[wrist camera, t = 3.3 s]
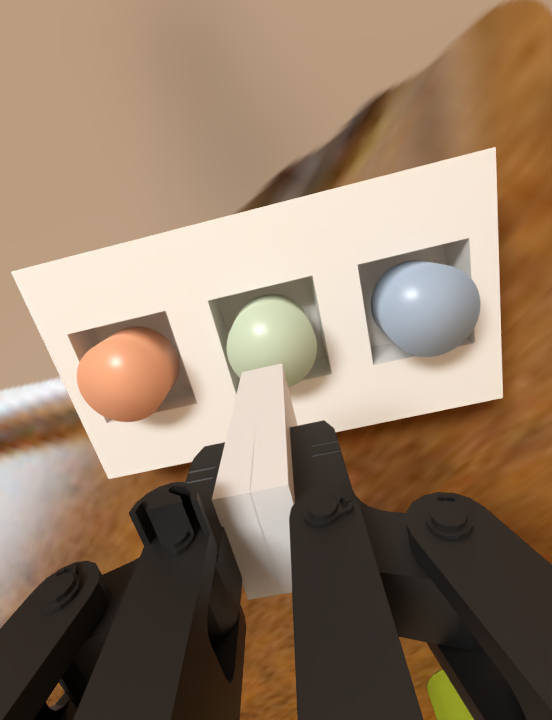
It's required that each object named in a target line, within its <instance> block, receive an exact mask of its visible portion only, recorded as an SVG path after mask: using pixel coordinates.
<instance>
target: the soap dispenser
mask: <svg viewBox="0 0 552 720" xmlns="http://www.w3.org/2000/svg"><path fill="white" fill-rule="evenodd" d="M427 691H428V694H429V697H430V700H431V703H432V706H433V709H434V712H435V715H436V718H437V720H474V719H473V717H472V716H471V714H470V712H469V711H468V709H467V708H466V706H465V704H464V703H463V701H462V699H461V698H460V696H459V695H458V693H457V691H456V690H455V688H454V686H453V685H452V683H451V682H450V680H449V678H448V677H447V675H446V673H445V672H444V670H441V671H439V672H437V673H436V674H434V675H433V676H432V677H431V678H430V680H429V681H428V684H427Z"/></svg>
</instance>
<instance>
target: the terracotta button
mask: <svg viewBox="0 0 552 720" xmlns="http://www.w3.org/2000/svg"><path fill="white" fill-rule="evenodd" d="M179 369H180V364H179V358H178V355H177V352H176V350H175V348H174V347H173V345H172V344H171V343H170V341H169V340H168V339H167V338H166V337H164V336H163V335H162V334H160V333H159V332H157V331H155V330H152V329H150V328H146V327H139V326H134V327H127V328H124V329H122V330H119V331H118V332H116V333H115V334H113V335H111V336H110V337H108V338H107V339H105V340H104V341H102V342H101V343H99V344H97V345H96V346H94V347H93V348H91V349H90V350H89V351H88V352H86V353H85V355H84V356H83V357H82V359H81V361H80V362H79V365H78V369H77V384H78V388H79V390H80V393H81V395H82V397H83V398H84V400H85V401H86V403H87V404H88V405H89V406H90V407H91V408H92V409H93V410H95V411H96V412H97V413H99V414H100V415H102V416H104V417H106V418H108V419H111V420H114V421H119V422H135V421H139V420H142V419H145V418H147V417H149V416H150V415H152V414H153V413H154V412H155V411H156V410H157V409H158V408H159V406H160V405H161V403H162V402H163V400H164V399H165V397H166V396H167V394H168V393H169V391H170V390H171V388H172V386H173V385H174V383H175V382H176V380H177V378H178V375H179Z"/></svg>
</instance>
